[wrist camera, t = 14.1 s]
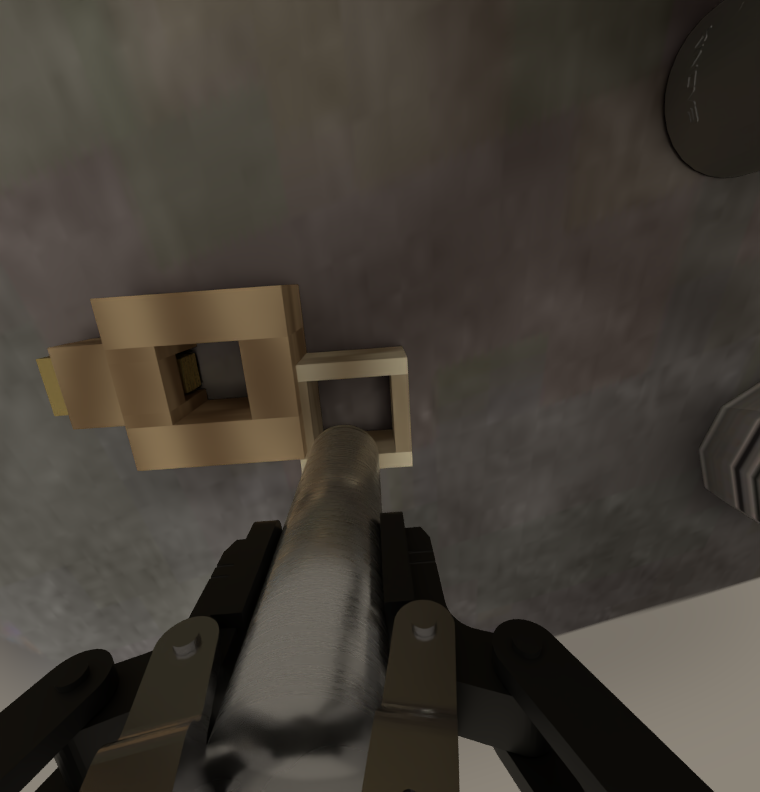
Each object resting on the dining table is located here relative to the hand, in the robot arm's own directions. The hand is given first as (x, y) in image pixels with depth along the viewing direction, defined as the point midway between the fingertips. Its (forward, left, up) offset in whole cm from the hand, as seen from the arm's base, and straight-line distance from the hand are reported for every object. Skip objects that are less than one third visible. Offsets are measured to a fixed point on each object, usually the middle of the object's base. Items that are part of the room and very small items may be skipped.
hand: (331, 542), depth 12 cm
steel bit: (0, 0, -6) cm, 6 cm away
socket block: (+10, -3, -16) cm, 19 cm away
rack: (0, 0, -16) cm, 16 cm away
